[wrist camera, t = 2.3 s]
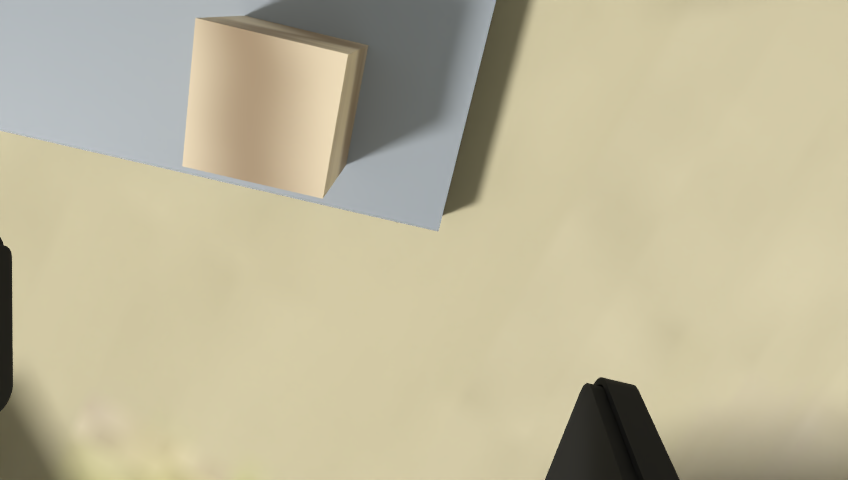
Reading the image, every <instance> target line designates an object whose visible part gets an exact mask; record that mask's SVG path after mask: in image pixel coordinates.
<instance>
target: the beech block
mask: <svg viewBox="0 0 848 480" xmlns="http://www.w3.org/2000/svg"><path fill="white" fill-rule="evenodd" d="M367 50H368V45H366V44H361V43H357V42H353V41H349V40H345V39H340V38H336V37H332V36H328V35H324V34H320V33H315V32H311V31H307V30H303V29H299V28H295V27H290V26H286V25H282V24H278V23H274V22H269V21H265V20H261V19H257V18H253V17H249V16H225V17H204V18H195V28H194V39H193V50H192V62H191V73H190V84H189V96H188V107H187V118H186V129H185V141H184V152H183V163H182V166H183V167H187V168H192V169H196V170H200V171H205V172H209V173H213V174H218V175H222V176H226V177H231V178H235V179H239V180H244V181H248V182H252V183H257V184H261V185H265V186H270V187H274V188H278V189H283V190H287V191H291V192H296V193H300V194H304V195H309V196H313V197H317V198H322V199H323V198H324V196H325V195H326V193H327V192H328V190H329V189H330V188H331V186H332V185H333V183H334V182H335V180H336V179H337V177H338V176H339V175H340V173H341V172H342V170H343V169H344V167H345V166H346V163H347V158H348V153H349V147H350V142H351V137H352V131H353V126H354V120H355V115H356V110H357V104H358V99H359V93H360V88H361V83H362V77H363V72H364V67H365V61H366V56H367Z"/></svg>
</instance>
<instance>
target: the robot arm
mask: <svg viewBox="0 0 848 480" xmlns="http://www.w3.org/2000/svg"><path fill="white" fill-rule="evenodd" d="M12 388H13V348H12V255H11V251H10V249H9V248H8V247H7V246H4V245H3V242H2V240H1V238H0V411H1V410H2V409H3V408H4V407H5V405H6V404H7V402H8V400H9V398H10V396H11V393H12ZM545 480H679V478H678V475H677V473H676V471H675V469H674V467H673V465H672V462H671V460H670V458H669V456H668V454H667V451H666V449H665V447H664V445H663V443H662V441H661V438H660V436H659V434H658V432H657V430H656V428H655V425H654V423H653V421H652V419H651V417H650V414H649V412H648V410H647V408H646V406H645V404H644V401H643V399H642V397H641V395H640V393H639V391H638V389H637V387H636V386H634V385H631V384H627V383H623V382H619V381H615V380H610V379H606V378H602V377H601V378H598V379H597V380H596V382H595V383H594V385H593V384H589V383H587V384H585V385H584V386H583V388H582V390H581V392H580V394H579V397H578V399H577V402H576V404H575V407H574V409H573V411H572V414H571V416H570V419H569V421H568V424H567V426H566V429H565V431H564V434H563V436H562V439H561V441H560V444H559V446H558V449H557V451H556V454H555V456H554V459H553V461H552V464H551V466H550V469H549V471H548V474H547V476H546V479H545Z"/></svg>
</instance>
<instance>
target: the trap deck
mask: <svg viewBox="0 0 848 480" xmlns="http://www.w3.org/2000/svg"><path fill="white" fill-rule="evenodd" d="M495 3H496V0H0V131H4V132H8V133H13V134H17V135H22V136H26V137H30V138H35V139H39V140H43V141H48V142H52V143H56V144H61V145H65V146H69V147H74V148H78V149H82V150H87V151H91V152H95V153H100V154H104V155H108V156H113V157H117V158H121V159H126V160H130V161H134V162H139V163H143V164H148V165H152V166H156V167H161V168H165V169H169V170H174V171H178V172H182V173H187V174H191V175H195V176H200V177H204V178H208V179H213V180H217V181H221V182H226V183H230V184H234V185H239V186H243V187H247V188H252V189H256V190H260V191H265V192H269V193H274V194H278V195H282V196H287V197H291V198H295V199H300V200H304V201H308V202H313V203H317V204H321V205H326V206H330V207H334V208H339V209H343V210H347V211H352V212H356V213H360V214H365V215H369V216H373V217H378V218H382V219H387V220H391V221H395V222H400V223H404V224H408V225H413V226H417V227H421V228H426V229H430V230H434V231H439V227H440V223H441V219H442V215H443V211H444V207H445V203H446V199H447V195H448V191H449V187H450V183H451V179H452V175H453V171H454V167H455V163H456V159H457V155H458V151H459V147H460V143H461V139H462V135H463V131H464V127H465V123H466V119H467V115H468V111H469V107H470V103H471V99H472V95H473V91H474V87H475V83H476V79H477V75H478V71H479V67H480V63H481V59H482V55H483V51H484V47H485V43H486V39H487V35H488V31H489V27H490V23H491V19H492V15H493V11H494V7H495ZM225 16H249V17H253V18H257V19H261V20H265V21H269V22H274V23H278V24H282V25H286V26H290V27H295V28H299V29H303V30H307V31H311V32H315V33H320V34H324V35H328V36H332V37H336V38H340V39H345V40H349V41H353V42H357V43H361V44H366V45H368V50H367V56H366V61H365V67H364V72H363V77H362V83H361V88H360V93H359V99H358V104H357V110H356V115H355V120H354V126H353V131H352V137H351V142H350V147H349V153H348V158H347V163H346V166H345V167H344V169H343V170H342V172H341V173H340V175H339V176H338V177H337V179H336V180H335V182H334V183H333V185H332V186H331V188H330V189H329V190H328V192H327V193H326V195H325V196H324V198H323V199H322V198H317V197H313V196H309V195H304V194H300V193H296V192H291V191H287V190H283V189H278V188H274V187H270V186H265V185H261V184H257V183H252V182H248V181H244V180H239V179H235V178H231V177H226V176H222V175H218V174H213V173H209V172H205V171H200V170H196V169H192V168H187V167H183V166H182V163H183V152H184V141H185V129H186V118H187V107H188V96H189V84H190V73H191V62H192V50H193V39H194V28H195V18H204V17H225Z"/></svg>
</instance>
